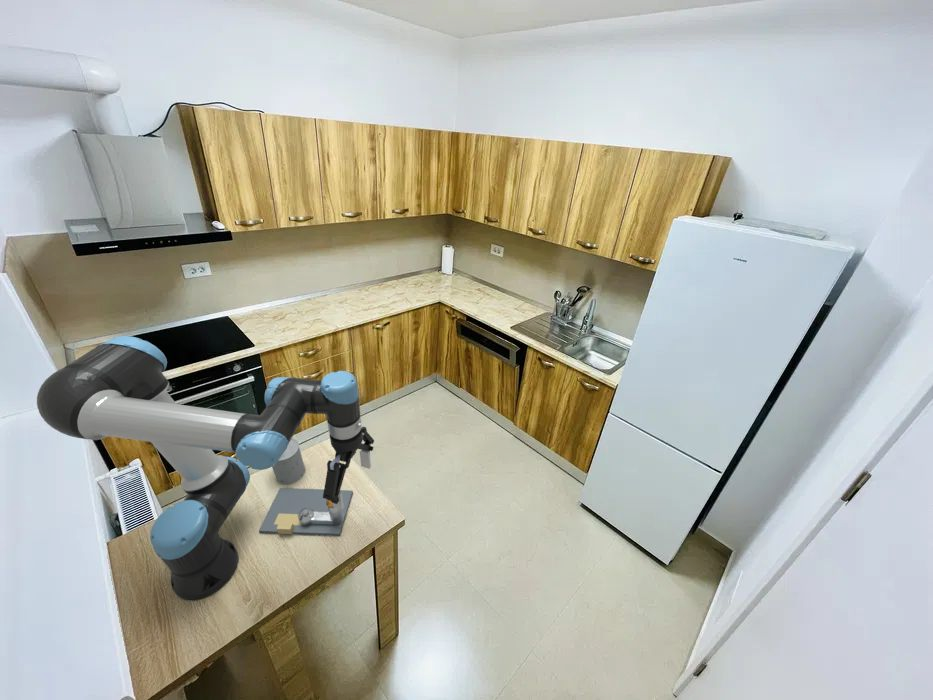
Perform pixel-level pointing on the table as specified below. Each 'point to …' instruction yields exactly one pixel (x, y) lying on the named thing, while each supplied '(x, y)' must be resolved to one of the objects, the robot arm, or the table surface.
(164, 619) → the table surface
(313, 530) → the plate
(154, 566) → the table surface
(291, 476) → the grey cylinder
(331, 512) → the bar
